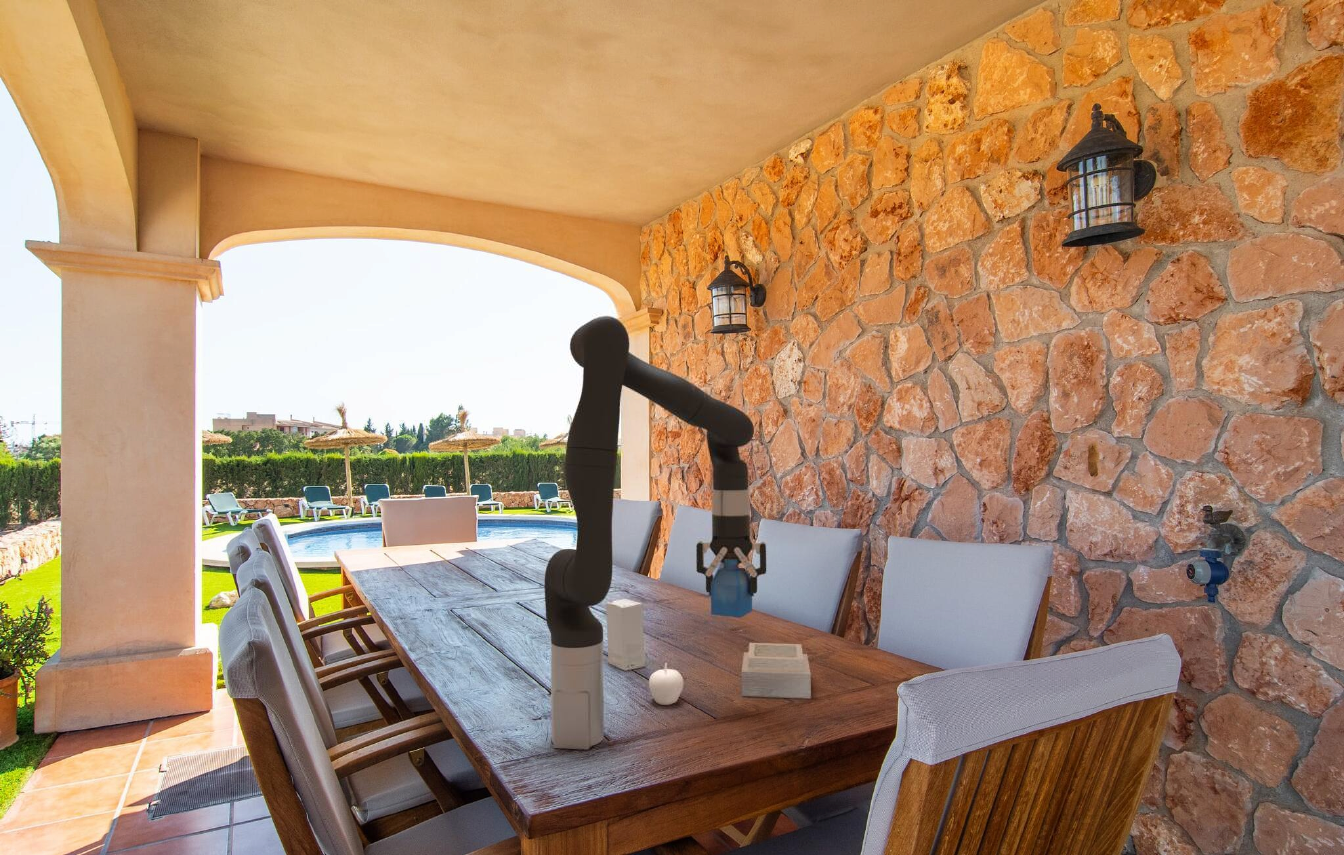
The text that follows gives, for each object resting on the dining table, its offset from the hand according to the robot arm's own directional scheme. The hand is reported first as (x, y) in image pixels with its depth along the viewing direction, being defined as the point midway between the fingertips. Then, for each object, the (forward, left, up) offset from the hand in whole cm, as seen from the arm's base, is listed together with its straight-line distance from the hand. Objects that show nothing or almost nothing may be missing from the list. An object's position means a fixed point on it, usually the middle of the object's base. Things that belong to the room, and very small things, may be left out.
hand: (731, 594), depth 144 cm
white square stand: (+13, -8, -22) cm, 27 cm away
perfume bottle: (0, 0, -4) cm, 4 cm away
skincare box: (+24, +27, -22) cm, 42 cm away
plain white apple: (+1, +14, -22) cm, 26 cm away
